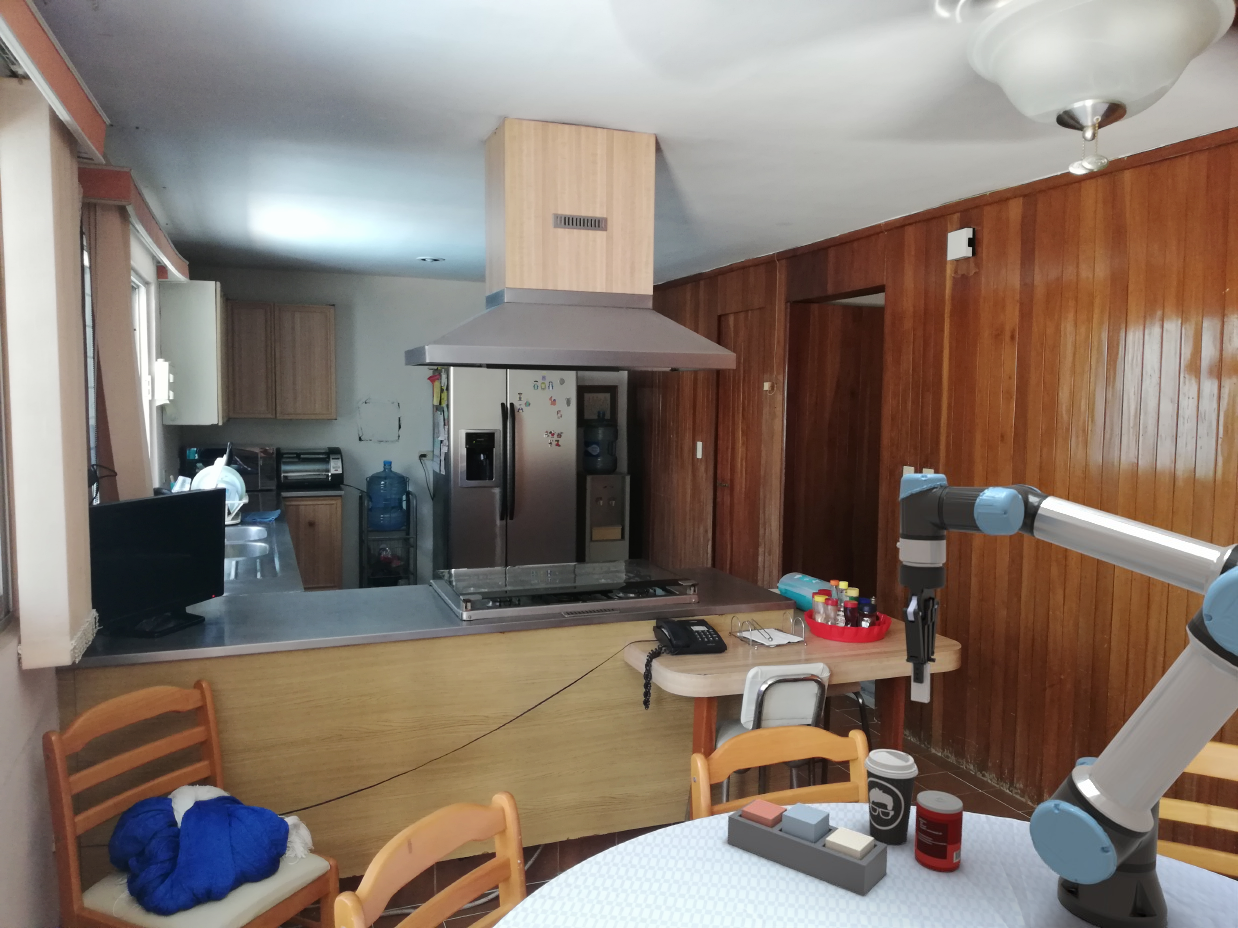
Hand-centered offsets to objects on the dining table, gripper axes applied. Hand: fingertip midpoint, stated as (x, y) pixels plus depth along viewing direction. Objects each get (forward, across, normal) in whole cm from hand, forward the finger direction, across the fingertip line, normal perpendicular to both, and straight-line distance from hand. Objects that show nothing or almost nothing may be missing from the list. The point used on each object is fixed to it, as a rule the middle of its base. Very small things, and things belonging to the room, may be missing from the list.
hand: (920, 700), depth 143 cm
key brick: (+26, +9, -25) cm, 37 cm away
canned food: (+30, -5, +2) cm, 30 cm away
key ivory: (+27, +9, -9) cm, 30 cm away
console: (+29, +9, -17) cm, 35 cm away
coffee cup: (+29, -9, -8) cm, 32 cm away
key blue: (+25, +9, -17) cm, 31 cm away
